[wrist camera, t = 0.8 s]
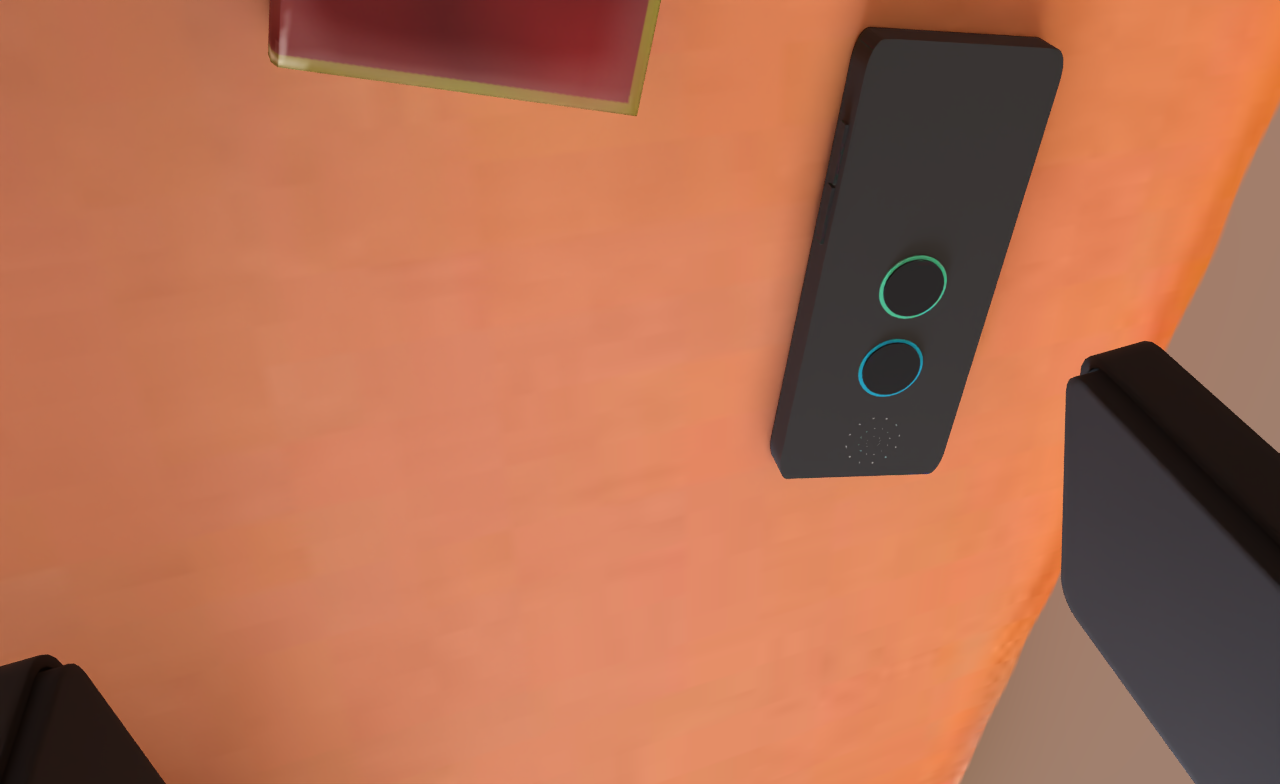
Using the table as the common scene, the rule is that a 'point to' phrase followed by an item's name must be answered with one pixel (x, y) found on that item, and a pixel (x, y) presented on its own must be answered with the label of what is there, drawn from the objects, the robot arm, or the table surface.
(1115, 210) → the table surface
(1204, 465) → the robot arm
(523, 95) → the hardcover book
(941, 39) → the smart home device
